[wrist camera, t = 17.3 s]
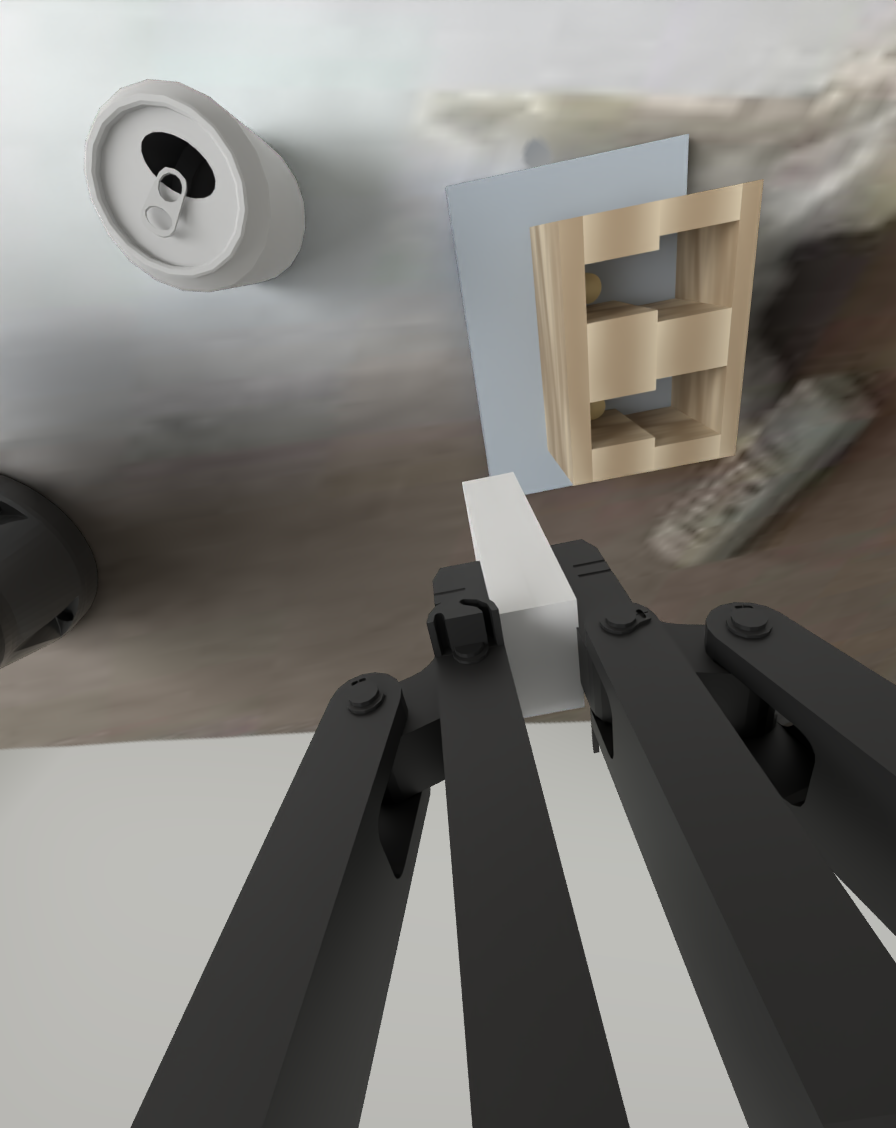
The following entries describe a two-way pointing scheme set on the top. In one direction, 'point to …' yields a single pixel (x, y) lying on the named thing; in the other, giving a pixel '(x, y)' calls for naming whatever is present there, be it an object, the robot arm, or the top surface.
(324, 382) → the top surface
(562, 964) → the robot arm
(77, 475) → the top surface
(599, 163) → the panel
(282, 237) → the can
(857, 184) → the top surface
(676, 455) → the wooden cubby shelf
